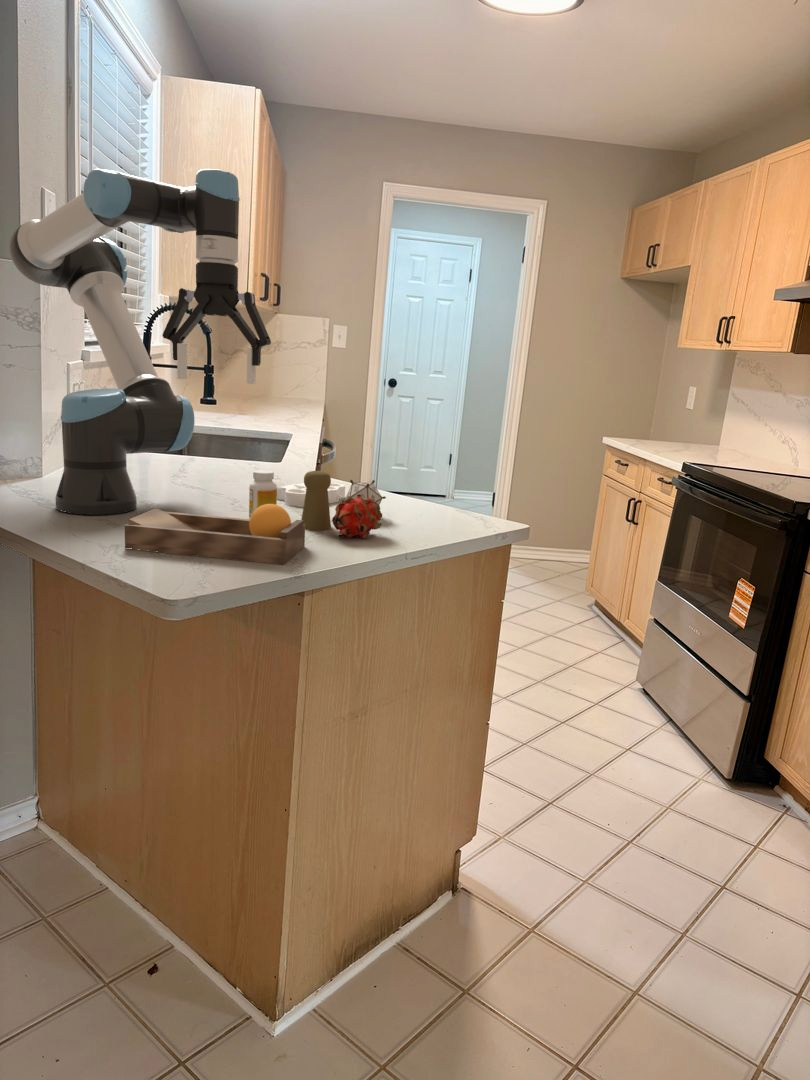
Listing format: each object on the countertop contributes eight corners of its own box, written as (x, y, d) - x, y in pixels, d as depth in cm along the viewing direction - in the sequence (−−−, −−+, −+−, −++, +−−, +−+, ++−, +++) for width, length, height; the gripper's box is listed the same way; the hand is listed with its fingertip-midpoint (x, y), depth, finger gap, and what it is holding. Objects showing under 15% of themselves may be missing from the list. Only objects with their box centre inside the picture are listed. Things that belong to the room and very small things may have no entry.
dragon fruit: (381, 540, 150) (339, 559, 142) (354, 509, 153) (310, 526, 144) (400, 511, 145) (357, 528, 136) (371, 480, 147) (327, 495, 139)
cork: (336, 526, 153) (338, 471, 150) (323, 531, 147) (325, 475, 145) (308, 522, 155) (310, 467, 152) (294, 527, 149) (296, 471, 147)
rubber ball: (249, 550, 127) (237, 510, 128) (265, 549, 134) (253, 511, 135) (287, 538, 126) (275, 497, 126) (301, 538, 133) (290, 499, 133)
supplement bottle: (281, 519, 156) (282, 471, 153) (266, 523, 151) (267, 474, 149) (259, 515, 158) (260, 468, 156) (243, 519, 153) (244, 471, 151)
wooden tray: (124, 548, 127) (123, 519, 126) (157, 532, 139) (157, 505, 138) (284, 564, 124) (285, 534, 122) (304, 546, 136) (305, 518, 134)
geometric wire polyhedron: (367, 537, 161) (377, 505, 154) (331, 519, 162) (340, 487, 154) (384, 511, 167) (395, 479, 160) (350, 493, 168) (359, 461, 160)
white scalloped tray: (310, 492, 189) (358, 501, 182) (259, 501, 174) (310, 511, 167) (311, 478, 188) (359, 487, 181) (260, 486, 174) (310, 496, 166)
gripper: (143, 257, 139) (145, 377, 144) (277, 264, 136) (274, 386, 141) (161, 262, 146) (162, 376, 151) (288, 268, 143) (286, 385, 148)
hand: (216, 381), depth 146 cm, fingers open, 13 cm apart
